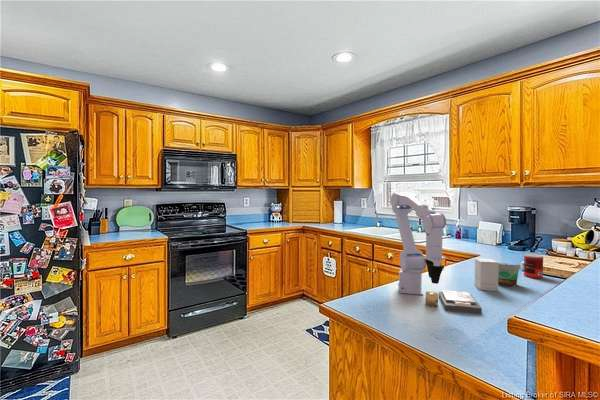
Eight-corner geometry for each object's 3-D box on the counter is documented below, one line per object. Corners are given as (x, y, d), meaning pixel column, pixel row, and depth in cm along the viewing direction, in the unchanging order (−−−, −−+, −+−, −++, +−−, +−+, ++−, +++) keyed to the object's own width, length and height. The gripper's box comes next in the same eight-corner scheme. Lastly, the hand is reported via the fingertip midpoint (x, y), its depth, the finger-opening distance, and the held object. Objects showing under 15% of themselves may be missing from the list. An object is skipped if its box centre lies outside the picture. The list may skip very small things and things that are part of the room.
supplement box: (498, 291, 134) (499, 262, 134) (479, 290, 136) (480, 261, 135) (491, 285, 142) (492, 258, 141) (474, 284, 143) (474, 257, 143)
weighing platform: (446, 300, 117) (446, 299, 117) (441, 291, 127) (441, 290, 127) (476, 303, 114) (476, 302, 114) (468, 293, 124) (468, 292, 124)
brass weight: (426, 306, 118) (426, 294, 117) (424, 302, 122) (425, 290, 122) (438, 307, 116) (438, 295, 116) (437, 303, 121) (437, 291, 120)
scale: (445, 310, 114) (445, 301, 114) (438, 296, 128) (438, 288, 128) (481, 313, 110) (481, 305, 110) (471, 299, 125) (471, 291, 125)
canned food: (541, 275, 157) (542, 254, 157) (543, 279, 151) (544, 257, 150) (523, 273, 161) (523, 252, 161) (524, 277, 155) (524, 255, 154)
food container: (491, 285, 142) (492, 263, 142) (489, 281, 148) (489, 261, 147) (523, 288, 138) (524, 266, 137) (519, 284, 143) (520, 263, 143)
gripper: (449, 249, 110) (448, 287, 111) (442, 242, 124) (441, 275, 125) (427, 248, 112) (427, 285, 113) (423, 241, 126) (422, 274, 127)
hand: (433, 280), depth 119 cm, fingers open, 7 cm apart
